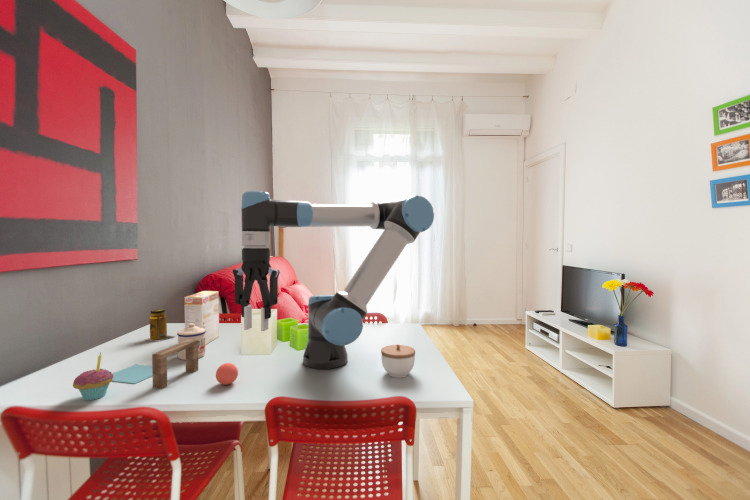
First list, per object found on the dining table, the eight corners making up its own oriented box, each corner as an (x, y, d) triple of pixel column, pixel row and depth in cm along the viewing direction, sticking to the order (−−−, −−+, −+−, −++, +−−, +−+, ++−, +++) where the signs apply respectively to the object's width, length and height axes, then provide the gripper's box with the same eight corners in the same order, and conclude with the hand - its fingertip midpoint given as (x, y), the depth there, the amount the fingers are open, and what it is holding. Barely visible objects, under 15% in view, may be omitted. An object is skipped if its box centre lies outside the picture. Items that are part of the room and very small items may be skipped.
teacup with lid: (197, 361, 128) (196, 327, 127) (171, 360, 128) (171, 326, 128) (214, 350, 139) (214, 319, 139) (191, 349, 140) (191, 318, 140)
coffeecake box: (203, 336, 158) (203, 290, 157) (220, 336, 158) (219, 290, 157) (184, 347, 143) (183, 296, 142) (202, 347, 143) (201, 296, 142)
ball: (242, 380, 111) (242, 361, 110) (230, 389, 105) (229, 368, 105) (224, 379, 112) (224, 359, 112) (211, 387, 106) (211, 366, 106)
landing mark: (169, 368, 120) (169, 367, 120) (135, 384, 108) (135, 383, 108) (135, 364, 123) (135, 364, 123) (98, 379, 111) (98, 379, 111)
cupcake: (120, 390, 104) (119, 347, 103) (99, 403, 95) (98, 357, 95) (89, 390, 103) (88, 347, 103) (64, 404, 95) (63, 357, 94)
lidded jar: (375, 370, 121) (376, 341, 120) (405, 366, 124) (406, 338, 124) (388, 382, 111) (389, 351, 110) (421, 378, 114) (421, 347, 114)
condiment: (145, 339, 153) (144, 310, 152) (165, 334, 160) (164, 307, 160) (156, 342, 149) (155, 312, 149) (176, 337, 157) (175, 308, 156)
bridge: (198, 370, 119) (198, 340, 119) (161, 388, 105) (161, 354, 104) (190, 369, 120) (189, 339, 119) (152, 387, 105) (152, 353, 105)
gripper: (219, 247, 103) (220, 330, 104) (278, 248, 99) (278, 335, 100) (235, 246, 110) (236, 324, 111) (290, 247, 106) (290, 328, 107)
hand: (256, 329), depth 106 cm, fingers open, 4 cm apart
